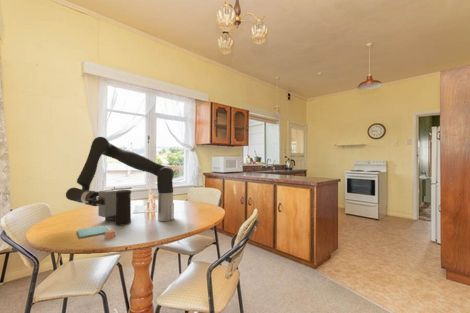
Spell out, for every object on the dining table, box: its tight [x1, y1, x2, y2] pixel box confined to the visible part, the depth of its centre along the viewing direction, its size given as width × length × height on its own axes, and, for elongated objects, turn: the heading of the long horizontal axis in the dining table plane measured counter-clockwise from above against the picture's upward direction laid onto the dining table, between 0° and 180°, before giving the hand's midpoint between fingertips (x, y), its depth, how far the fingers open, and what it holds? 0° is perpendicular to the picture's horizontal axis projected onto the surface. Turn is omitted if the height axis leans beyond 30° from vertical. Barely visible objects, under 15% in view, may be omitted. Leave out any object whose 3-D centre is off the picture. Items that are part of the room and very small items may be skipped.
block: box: [104, 229, 116, 240], centre depth 112 cm, size 3×3×3 cm
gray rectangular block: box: [97, 189, 117, 218], centre depth 113 cm, size 6×6×12 cm
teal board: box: [77, 224, 109, 239], centre depth 120 cm, size 13×13×1 cm
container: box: [114, 189, 132, 226], centre depth 136 cm, size 9×9×20 cm
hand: (110, 201), depth 111 cm, fingers closed on gray rectangular block, 5 cm apart
